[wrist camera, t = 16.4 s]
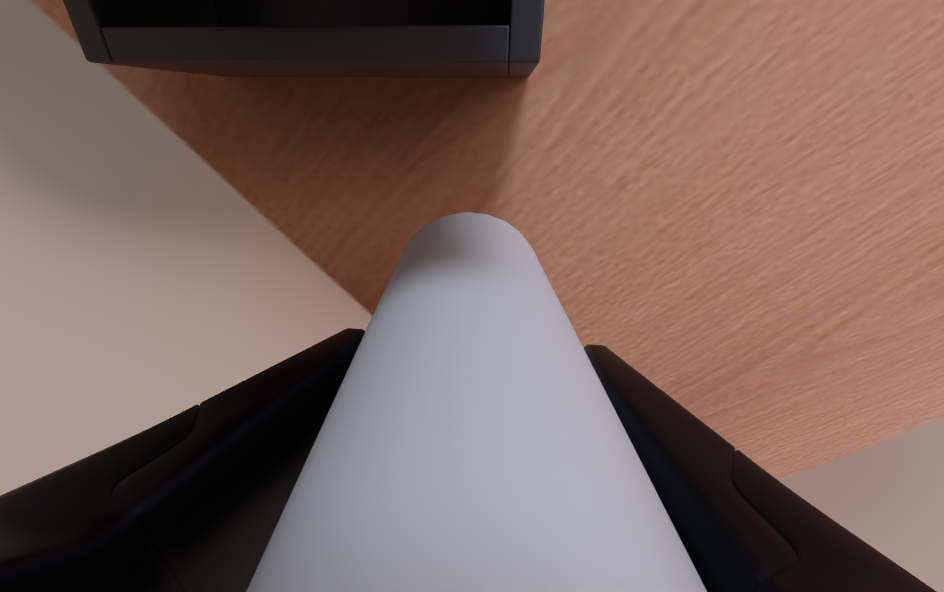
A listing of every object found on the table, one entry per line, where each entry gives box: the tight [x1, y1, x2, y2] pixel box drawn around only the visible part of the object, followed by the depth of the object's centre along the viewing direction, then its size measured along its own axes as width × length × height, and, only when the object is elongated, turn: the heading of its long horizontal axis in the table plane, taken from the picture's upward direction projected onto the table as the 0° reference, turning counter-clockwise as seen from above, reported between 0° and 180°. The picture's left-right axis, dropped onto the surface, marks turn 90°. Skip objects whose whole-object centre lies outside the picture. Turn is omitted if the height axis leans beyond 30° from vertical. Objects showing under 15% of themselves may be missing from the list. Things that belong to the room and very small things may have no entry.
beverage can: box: [246, 212, 707, 592], centre depth 8 cm, size 5×5×12 cm
